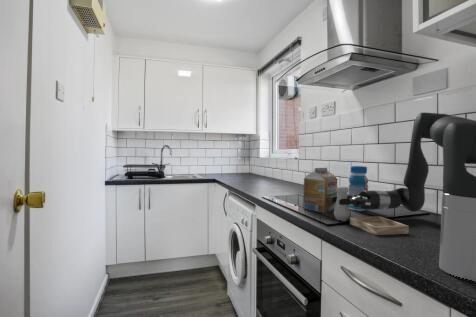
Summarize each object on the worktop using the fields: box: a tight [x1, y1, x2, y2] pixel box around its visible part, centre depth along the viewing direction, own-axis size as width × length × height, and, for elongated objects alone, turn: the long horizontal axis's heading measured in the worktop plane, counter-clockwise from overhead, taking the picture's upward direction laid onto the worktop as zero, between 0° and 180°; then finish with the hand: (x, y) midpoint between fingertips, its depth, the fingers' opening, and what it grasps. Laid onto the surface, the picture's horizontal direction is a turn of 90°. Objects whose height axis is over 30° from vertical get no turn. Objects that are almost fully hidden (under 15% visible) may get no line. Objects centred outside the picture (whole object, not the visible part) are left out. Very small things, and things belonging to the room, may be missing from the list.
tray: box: [349, 215, 410, 236], centre depth 88 cm, size 13×13×2 cm
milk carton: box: [302, 167, 338, 214], centre depth 117 cm, size 11×10×19 cm
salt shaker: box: [333, 185, 351, 222], centre depth 99 cm, size 6×6×13 cm
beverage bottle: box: [347, 165, 369, 212], centre depth 118 cm, size 8×8×20 cm
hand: (335, 200), depth 98 cm, fingers open, 4 cm apart
